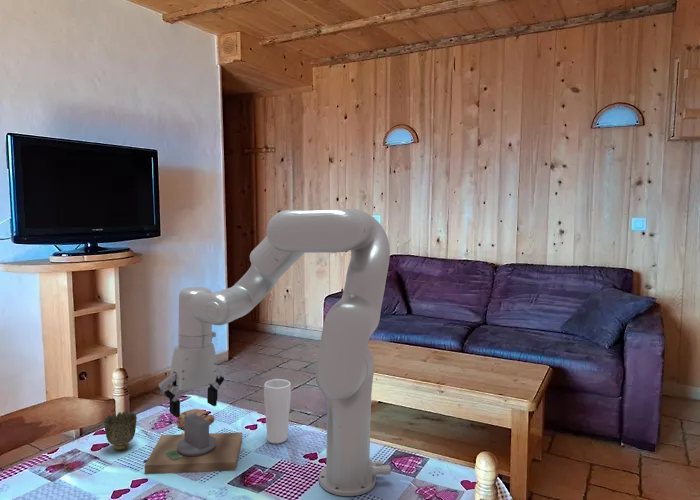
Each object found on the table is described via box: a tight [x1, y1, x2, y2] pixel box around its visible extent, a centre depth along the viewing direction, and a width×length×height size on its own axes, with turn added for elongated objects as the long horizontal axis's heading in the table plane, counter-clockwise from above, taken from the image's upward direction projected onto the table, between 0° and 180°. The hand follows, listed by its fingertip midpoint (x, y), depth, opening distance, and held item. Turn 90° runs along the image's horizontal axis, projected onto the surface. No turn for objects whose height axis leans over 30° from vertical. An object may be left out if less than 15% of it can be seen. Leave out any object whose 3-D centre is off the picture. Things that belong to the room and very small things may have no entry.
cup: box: [103, 411, 138, 452], centre depth 125 cm, size 8×7×8 cm
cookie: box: [177, 408, 215, 430], centre depth 141 cm, size 10×11×3 cm
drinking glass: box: [263, 378, 292, 444], centre depth 131 cm, size 7×7×15 cm
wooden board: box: [144, 432, 243, 475], centre depth 123 cm, size 20×15×2 cm
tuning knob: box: [177, 413, 216, 456], centre depth 123 cm, size 11×9×7 cm
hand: (194, 409), depth 122 cm, fingers open, 9 cm apart
